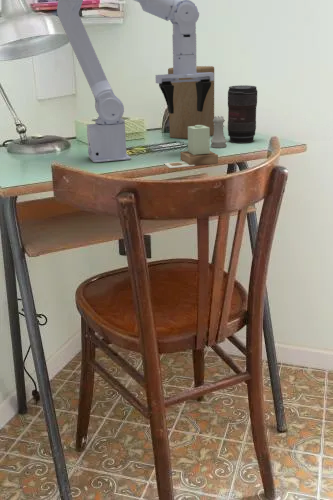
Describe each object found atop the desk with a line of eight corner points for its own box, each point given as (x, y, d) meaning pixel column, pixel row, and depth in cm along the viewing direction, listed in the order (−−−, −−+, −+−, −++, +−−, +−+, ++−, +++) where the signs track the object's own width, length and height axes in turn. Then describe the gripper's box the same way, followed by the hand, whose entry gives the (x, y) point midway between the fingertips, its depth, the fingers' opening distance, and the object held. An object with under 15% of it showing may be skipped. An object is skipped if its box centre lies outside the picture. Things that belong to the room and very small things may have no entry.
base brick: (189, 165, 125) (189, 156, 124) (180, 160, 132) (180, 151, 131) (217, 163, 127) (217, 153, 126) (207, 157, 133) (207, 148, 133)
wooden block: (187, 133, 170) (186, 66, 163) (214, 135, 164) (215, 66, 157) (169, 137, 162) (167, 68, 155) (197, 140, 157) (196, 68, 150)
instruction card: (169, 168, 124) (169, 167, 123) (163, 164, 128) (163, 162, 128) (194, 165, 125) (194, 164, 125) (187, 161, 130) (187, 160, 129)
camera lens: (226, 143, 150) (227, 87, 145) (228, 138, 158) (228, 85, 152) (255, 143, 149) (257, 87, 144) (255, 138, 156) (257, 85, 151)
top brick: (193, 154, 126) (193, 127, 124) (188, 151, 130) (187, 124, 127) (209, 153, 127) (209, 125, 125) (203, 150, 131) (203, 123, 128)
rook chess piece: (226, 148, 144) (226, 117, 141) (209, 148, 145) (209, 117, 142) (227, 145, 148) (228, 115, 145) (211, 145, 149) (211, 115, 146)
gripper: (160, 56, 125) (162, 115, 130) (218, 53, 129) (218, 112, 134) (152, 55, 131) (154, 112, 136) (208, 53, 135) (208, 109, 140)
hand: (185, 112), depth 135 cm, fingers open, 7 cm apart
